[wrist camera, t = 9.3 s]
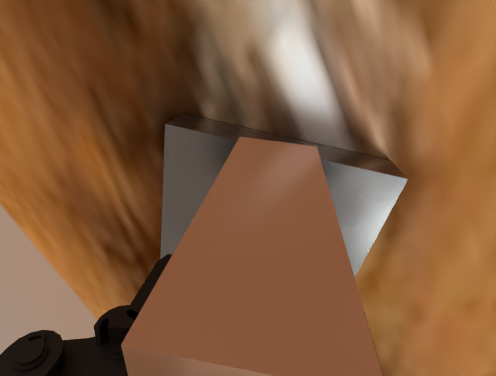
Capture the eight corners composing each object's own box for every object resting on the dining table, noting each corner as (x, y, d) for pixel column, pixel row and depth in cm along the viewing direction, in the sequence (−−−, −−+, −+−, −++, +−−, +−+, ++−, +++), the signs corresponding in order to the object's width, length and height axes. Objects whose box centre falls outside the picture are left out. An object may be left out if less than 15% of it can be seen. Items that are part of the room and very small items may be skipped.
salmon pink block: (239, 136, 12) (92, 395, 3) (316, 146, 12) (408, 464, 3) (229, 274, 17) (153, 558, 7) (286, 284, 16) (281, 592, 7)
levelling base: (183, 113, 15) (147, 134, 11) (390, 159, 15) (424, 197, 11) (168, 325, 25) (147, 375, 21) (294, 357, 24) (295, 414, 21)
